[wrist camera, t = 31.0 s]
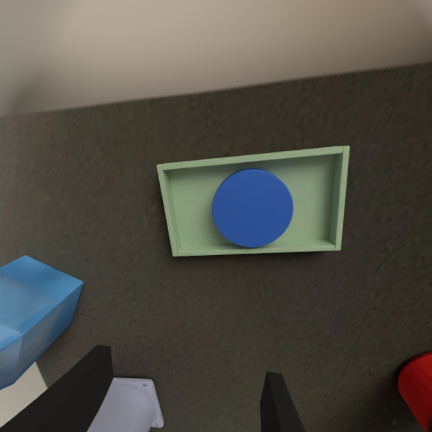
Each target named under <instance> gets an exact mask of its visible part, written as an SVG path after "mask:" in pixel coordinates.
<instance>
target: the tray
mask: <svg viewBox="0 0 432 432" xmlns="http://www.w3.org/2000/svg"><path fill="white" fill-rule="evenodd" d="M349 148H350V146H335V147H325V148H315V149H305V150H294V151H284V152H274V153H264V154H254V155H244V156H234V157H224V158H214V159H204V160H194V161H184V162H174V163H164V164H160V165H157V171H158V176H159V182H160V187H161V193H162V198H163V204H164V209H165V215H166V220H167V226H168V231H169V237H170V242H171V248H172V253H173V256H198V255H225V254H251V253H278V252H305V251H332V250H341V239H342V228H343V216H344V205H345V194H346V182H347V171H348V160H349ZM246 168H259V169H263V170H266V171H268V172H270V173H272V174H274V175H275V176H276V177H278V178H279V179H280V180H281V181H282V182H283V183H284V184H285V185H286V186H287V188H288V190H289V191H290V194H291V196H292V200H293V216H292V219H291V222H290V224H289V226H288V228H287V229H286V231H285V232H284V233H283V234H282V235H281V236H280V237H279V238H278V239H276V240H275V241H273V242H271V243H269V244H267V245H264V246H260V247H244V246H240V245H237V244H235V243H232V242H231V241H229V240H228V239H226V238H225V237H224V236H223V235H222V234H221V233H220V232H219V230H218V229H217V227H216V225H215V223H214V220H213V216H212V204H213V199H214V196H215V194H216V192H217V190H218V188H219V186H220V185H221V183H222V182H223V181H224V180H225V179H226V178H227V177H228V176H229V175H231V174H232V173H234V172H236V171H238V170H241V169H246Z"/></svg>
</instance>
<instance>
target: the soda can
mask: <svg viewBox="0 0 432 432" xmlns="http://www.w3.org/2000/svg"><path fill="white" fill-rule="evenodd" d="M398 389H399V392H400V394H401V395H402V397H403V399H404V400H405V402H406V403H407V405H408V406H409V408H410V409H411V411H412V412H413V414H414V415H415V417H416V419H417V420H418V422H419V423H420V425H421V426H422V428H423V429H424V431H425V432H432V351H431V352H427V353H424V354H421V355H419V356H417V357H415V358H413V359H412V360H410V361H409V362H408V363H407V364H406V365H404V367H403V368H402V369H401V371H400V374H399V377H398Z"/></svg>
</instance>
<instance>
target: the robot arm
mask: <svg viewBox="0 0 432 432" xmlns="http://www.w3.org/2000/svg"><path fill="white" fill-rule="evenodd" d="M260 412H261V432H306V431H305V429H304V427H303V424H302V422H301V420H300V418H299V415H298V413H297V411H296V408H295V406H294V404H293V401H292V399H291V396H290V394H289V391H288V389H287V386H286V383H285V381H284V378H283V376H282V374H279V373H273V372H267V373H266V377H265V382H264V387H263V392H262V396H261V401H260ZM163 425H164V420H163V416H162V412H161V409H160V405H159V401H158V398H157V394H156V390H155V386H154V383H153V381H152V380H151V379H138V378H116V377H114V375H113V366H112V358H111V349H110V347H109V346H103V345H97V346H95V347H94V348H93V349H92V350H91V351H90V352H89V353H88V354H87V355H85V356H84V357H83V358H82V359H81V360H80V361H79V362H78V363H77V364H76V365H74V366H73V367H72V368H71V369H70V370H69V371H68V372H67V373H65V374H64V375H63V376H62V377H61V378H60V379H59V380H57V381H56V382H55V383H54V384H53V385H52V386H51V387H49V388H48V389H47V390H46V391H45V392H44V393H42V394H41V395H40V396H39V397H38V398H37V399H35V400H34V401H33V402H32V403H30V404H29V405H28V406H27V407H26V408H25V409H23V410H22V411H21V412H19V413H18V414H17V415H16V416H15V417H13V418H12V419H11V420H10V421H8V422H7V423H6V424H5V425H3V426H2V427H1V428H0V432H149V430H150V427H163Z"/></svg>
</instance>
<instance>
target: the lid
mask: <svg viewBox="0 0 432 432" xmlns="http://www.w3.org/2000/svg"><path fill="white" fill-rule="evenodd" d="M212 216H213V220H214V223H215V225H216V227H217V229H218V230H219V232H220V233H221V234H222V235H223V236H224V237H225V238H226V239H228V240H229V241H231V242H232V243H235V244H237V245H240V246H244V247H260V246H264V245H267V244H269V243H271V242H273V241H275V240H276V239H278V238H279V237H280V236H281V235H282V234H283V233H284V232H285V231H286V229H287V228H288V226H289V224H290V222H291V219H292V216H293V200H292V196H291V194H290V191H289V190H288V188H287V186H286V185H285V184H284V183H283V182H282V181H281V180H280V179H279V178H278V177H276V176H275V175H274V174H272V173H270V172H268V171H266V170H263V169H259V168H246V169H241V170H238V171H236V172H234V173H232V174H231V175H229V176H228V177H227V178H226V179H225V180H224V181H223V182H222V183H221V185H220V186H219V188H218V190H217V192H216V194H215V196H214V199H213V204H212Z"/></svg>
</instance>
